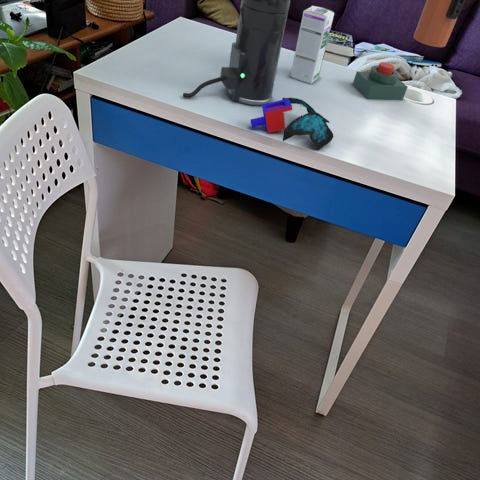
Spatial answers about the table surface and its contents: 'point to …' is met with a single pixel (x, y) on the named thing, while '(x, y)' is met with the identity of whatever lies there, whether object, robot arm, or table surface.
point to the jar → (434, 24)
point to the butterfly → (309, 126)
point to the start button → (385, 68)
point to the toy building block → (273, 115)
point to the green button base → (379, 85)
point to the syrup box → (311, 43)
